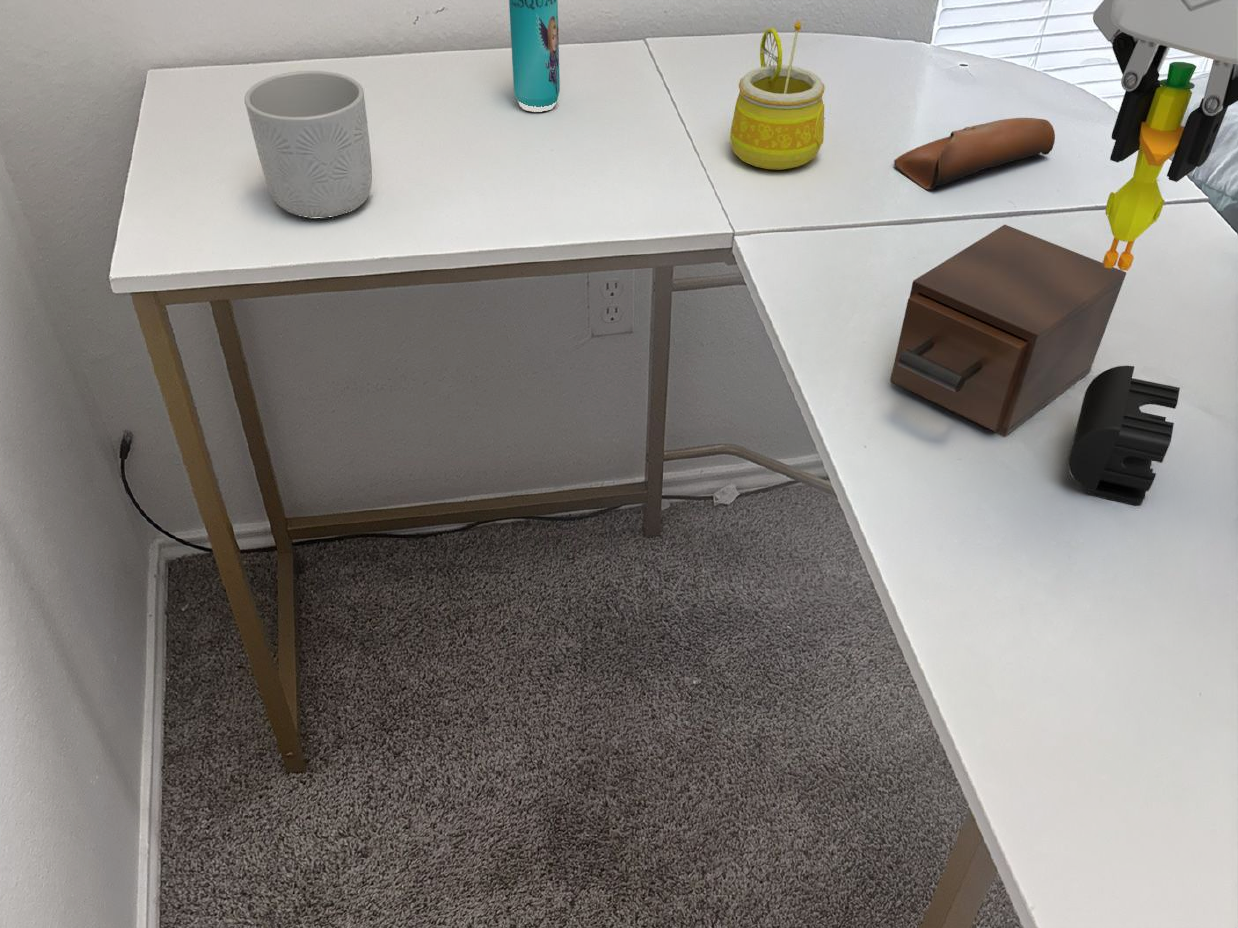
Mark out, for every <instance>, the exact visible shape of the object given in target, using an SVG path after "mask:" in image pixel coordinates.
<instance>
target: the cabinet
mask: <svg viewBox="0 0 1238 928" xmlns="http://www.w3.org/2000/svg"><path fill="white" fill-rule="evenodd" d="M1126 276H1127V272H1126V271H1125V270H1120V268H1116V267H1115V266H1114V267H1113V268H1105V267H1104V265H1103V262H1101V261H1099V260H1096V259H1094V258H1091V257H1089V256H1086V255H1083V254H1081V253H1078V252H1076V251H1074V250H1071V249H1068V248H1066V247H1063V246H1061V245H1058V244H1057V243H1053V242H1050V241H1048V240H1046V239H1043V238H1041V237H1037V236H1036V235H1033V234H1030V233H1028V232H1026V231H1023V230H1020V229H1018V228H1016V227H1013V226H1010V225H1007V224H1003V225H1001V226H1000V227H998V228H996V229H995V230H993V231H991V232H990V233H988V234H987V235H985V236H984V237H982V238H980V239H979V240H977V241H976V242H974V243H972V244H970V245H969V246H967V247H965V248H964V249H962V250H960V251H959V252H957V253H956V254H954V255H953V256H951V257H949V258H948V259H946V260H945V261H943V262H941V263H940V264H937V265H936V266H935V267H933V268H931V269H930V270H928V271H926V272H925V273H923V274H921V275H920V276H918V277H917V278H915V279H913V280H912V284H911V289H910V293H909V296H908V298H910V297H911V296H913V295H915V294H918V295H921V296H923V297H925V298H927V299H930V298H932V299H934V300H936V301H939V302H941V303H943V304H946V305H948V306H950V307H952V308H955V309H957V310H959V311H961V312H964V313H966V314H968V315H971V316H973V317H975V318H977V319H980V320H982V321H984V322H987V323H989V324H991V325H993V326H996V327H998V328H1000V329H1002V330H1005V331H1007V332H1009V333H1012V334H1014V335H1016V336H1018V337H1021V338H1023V339H1025V340H1027V343H1028V345H1027V348H1026V351H1025V354H1024V358H1023V361H1022V364H1021V367H1020V370H1019V373H1018V376H1017V380H1016V383H1015V386H1014V389H1013V392H1012V395H1011V398H1010V402H1009V405H1008V408H1007V411H1006V414H1005V417H1004V420H1003V424H1002V426H1000V427H999V428H998V429H996V430H995V431H994V430H992V429H990V428H988V427H986V426H984V425H982V424H979V423H977V422H975V421H973V420H971V419H969V418H967V417H965V416H963V415H961V414H959V413H957V412H955V411H953V410H951V409H949V408H946V407H944V406H942V405H940V404H938V403H936V402H934V401H932V400H930V399H928V398H926V397H924V396H922V395H920V394H918V393H916V392H913V391H911V390H909V389H907V388H905V387H903V386H901V385H899V384H897V383H895V382H893V381H891V380H890V382H891V383H893V384H895V385H897V386H899V387H901V388H903V389H905V390H908V391H909V392H912V393H914V394H916V395H918V396H920V397H922V398H924V399H926V400H928V401H931V402H932V403H934V404H936V405H939V406H941V407H943V408H945V409H947V410H948V411H951V412H953V413H955V414H957V415H959V416H961V417H963V418H965V419H967V420H970V421H971V422H973V423H975V424H977V425H980V426H982V427H984V428H985V429H988V430H990V431H992V432H994V433H996V434H999V435H1000V436H1003V437H1007V436H1008V435H1010V434H1011V433H1012V432H1013V431H1015V430H1016V429H1017V428H1019V427H1020V426H1022V425H1023V424H1024V423H1025V422H1026V421H1028V420H1030V419H1031V418H1032V417H1033V416H1034V415H1036V414H1037V413H1039V412H1040V411H1041V410H1042V409H1044V408H1045V407H1047V406H1048V405H1049V404H1050V403H1051V402H1053V401H1055V400H1056V399H1057V398H1058V397H1060V396H1061V395H1062V394H1063V393H1065V392H1066V391H1068V389H1070V388H1071V387H1073V386H1074V385H1076V384H1077V383H1078V382H1079V381H1080V380H1082V379H1083V378H1084V377H1086V376H1087V375H1088V374H1090V373H1091V369H1092V367H1093V364H1094V362H1095V359H1096V356H1097V354H1098V351H1099V349H1100V345H1101V343H1102V340H1103V338H1104V334H1105V333H1106V329H1107V327H1108V324H1109V321H1110V319H1111V316H1112V313H1113V310H1114V309H1115V306H1116V303H1117V300H1118V298H1119V295H1120V293H1121V289H1122V286H1123V283H1124V281H1125V278H1126Z"/></svg>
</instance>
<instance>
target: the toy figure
mask: <svg viewBox="0 0 1238 928" xmlns="http://www.w3.org/2000/svg"><path fill="white" fill-rule="evenodd" d="M1196 69H1197V65H1195V64H1194V63H1191V62H1187V61H1172V62H1170V63H1169V66H1168V71H1167V77H1166V78H1164V79H1160V82H1159V84H1160V85H1161V86H1160V87H1159V88H1157V89H1156V92H1155V95H1154V98H1153V101H1152V104H1151V107H1150V110H1149V113H1148V116H1147V119H1146V122H1142V124H1141V130H1140V138H1139V140H1140V146H1139V150H1138V151H1137V156H1136V161H1135V166H1134V171H1133V176H1132V177H1131V178H1130V179H1129V180H1128V181H1127V182H1126V183H1125V184H1123V186H1121V187H1120V188H1119V189H1118V190H1117V191H1116V192H1113V191H1112V192H1110V193H1109V194H1108V198H1107V202H1106V207H1105V216H1107V219H1108V220H1107V221H1108V223H1109V226H1110V230H1111V233H1112V236H1113V240H1112V242H1111V246H1110V248H1109V250H1107V251H1106V252H1105V254H1104V257H1103V259H1102V263H1103V265H1104V267H1105V268H1113V267H1114V268H1115V266H1116V265H1117V267H1118V269H1119V270H1122V271H1124V272H1126V271H1129V270H1130V268H1131V267H1132V264H1133V261H1134V259H1135V257H1134V255H1133V254H1132V253H1131V252H1132V250H1133V246H1134V243H1135V241H1136V240H1137V239H1138V238H1139V237H1140V236H1141V235H1142V234H1143V233H1144V232H1145V231H1147V229H1149V228H1150V227H1151V226H1153V224H1154V223H1156V222H1157V221H1158V219H1159V218H1160V216H1161V213H1162V210H1163V208H1164V204H1165V202H1166V201H1165V199H1164V198H1163V197H1162V193H1161V190H1160V187H1159V184H1158V181H1157V179H1158V178H1159V175H1160V173H1161V171H1162V170H1163V167H1164V165H1165V162H1167V161H1168V160H1169V159H1170V158H1171V157H1172V156H1174V154H1175V151H1176V149H1177V147H1178V144H1179V140H1180V138H1181V135H1182V132H1183V130H1184V127H1185V126H1183V125H1182V124H1183V121H1184V118H1185V116H1186V112H1187V109H1188V107H1189V104H1190V101H1191V98H1192V95H1193V91H1192V90H1193V89H1194V88H1195V86H1196V85H1195V83H1193V82H1191V80H1192V78H1193V76H1194V73H1195V71H1196ZM1120 241H1121V242H1124V243H1126V246H1125V248H1124V251H1122V253H1119V252H1118V251H1117V248H1118V245H1119V243H1120ZM1119 254H1120V255H1119Z"/></svg>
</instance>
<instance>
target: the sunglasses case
mask: <svg viewBox="0 0 1238 928" xmlns="http://www.w3.org/2000/svg"><path fill="white" fill-rule="evenodd" d="M1055 136H1056V134H1055V129H1054V126H1053V124H1051V122H1050V121H1049V120H1048V119H1044V118H1036V117H1012V118H1011V117H1010V118H1004V119H998V120H994V121H989V122H985V123H981V124H980V123H979V124H975V125H971V126H966V127H964V128H962V129H959V130H958V129H957V130H953V131H951V132H950V135H949V136H947V137H946V136H945V137H943V138H940V139H937V140H934V141H931V142H928V143H926V144H922V145H920V146H917V147H916V148H913V149H911V150H909V151H907V152H904V153H903V154H901V155H899V156H897V158H895V159H894V160H893V163H894V165H895V167H896V168H897V169H898V170H899V171H900V172H901V173H902V174H903V175H904V176H905V177H907V179H909V180H911V181H912V182H913V183H915V184H916V183H917V185H918V186H919V187H921V188H922V189H924V190H925V191H930V190H933V189H934V188H935V187H936V186H939V187H940V186H943V185H944V186H945V185H946V184H948V183H952V182H954V181H956V180H959V179H962V178H965V177H966V176H968V175H972V174H975V173H978V172H979V171H981V170H983V169H990V168H993V167H997V166H1000V165H1004V164H1006V163H1009V162H1013V161H1018V160H1021V159H1025V158H1028V157H1031V156H1035V155H1039V154H1042V155H1045V156H1047V155H1048V154H1050V153H1051V151H1053V148H1054V145H1055V141H1056V140H1055V139H1056V137H1055Z"/></svg>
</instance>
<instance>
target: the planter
mask: <svg viewBox="0 0 1238 928" xmlns="http://www.w3.org/2000/svg"><path fill="white" fill-rule="evenodd" d="M244 105H245V109H246V112H247V116H248V120H249V125H250V128H251V133H252V137H253V140H254V145H255V148H256V152H257V156H258V159H259V164H260V166H261V167H260V168H261V169H262V170H261V171H262V174H263V178H264V179H265V182H266V185H267V188H268V190H269V192H270V194H271V197H272V198H273V200H274V201H275V203H276V204H277V205H278V206H279V207H280V208H281V209H282V210H285V211H286V212H288V213H290V212H291V213H290V214H292V213H293V214H292V215H294V214H296V215H295V216H297V215H301V216H307V217H329V216H336V215H340V214H343V213H346V212H349V211H351V210H353V209H355V208H357V207H358V206H359V207H361V206H362V205H363V204H364V203H365V201H366V200H367V199H368V197H369V195H370V193H371V189H372V182H373V167H372V152H371V143H370V134H369V125H368V118H367V117H368V115H367V109H366V100H365V91H364V88H363V87H362V85H361V84H360V83H359V82H358V81H357V80H355V79H354V78H353V77H350V76H348V75H346V74H341V73H337V72H332V71H326V70H297V71H290V72H285V73H280V74H276V75H273V76H270V77H267V78H265V79H261V80H260V81H258V82H257V83H254V85H252V86H251V87H249V89H248V90H247V91H246V93H245V95H244ZM362 203H363V204H362ZM361 204H362V205H361ZM360 205H361V206H360ZM359 207H358V208H359ZM358 208H357V209H358ZM355 210H356V209H355ZM353 211H354V210H353ZM351 212H352V211H351ZM349 213H350V212H349ZM301 216H300V217H301Z"/></svg>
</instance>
